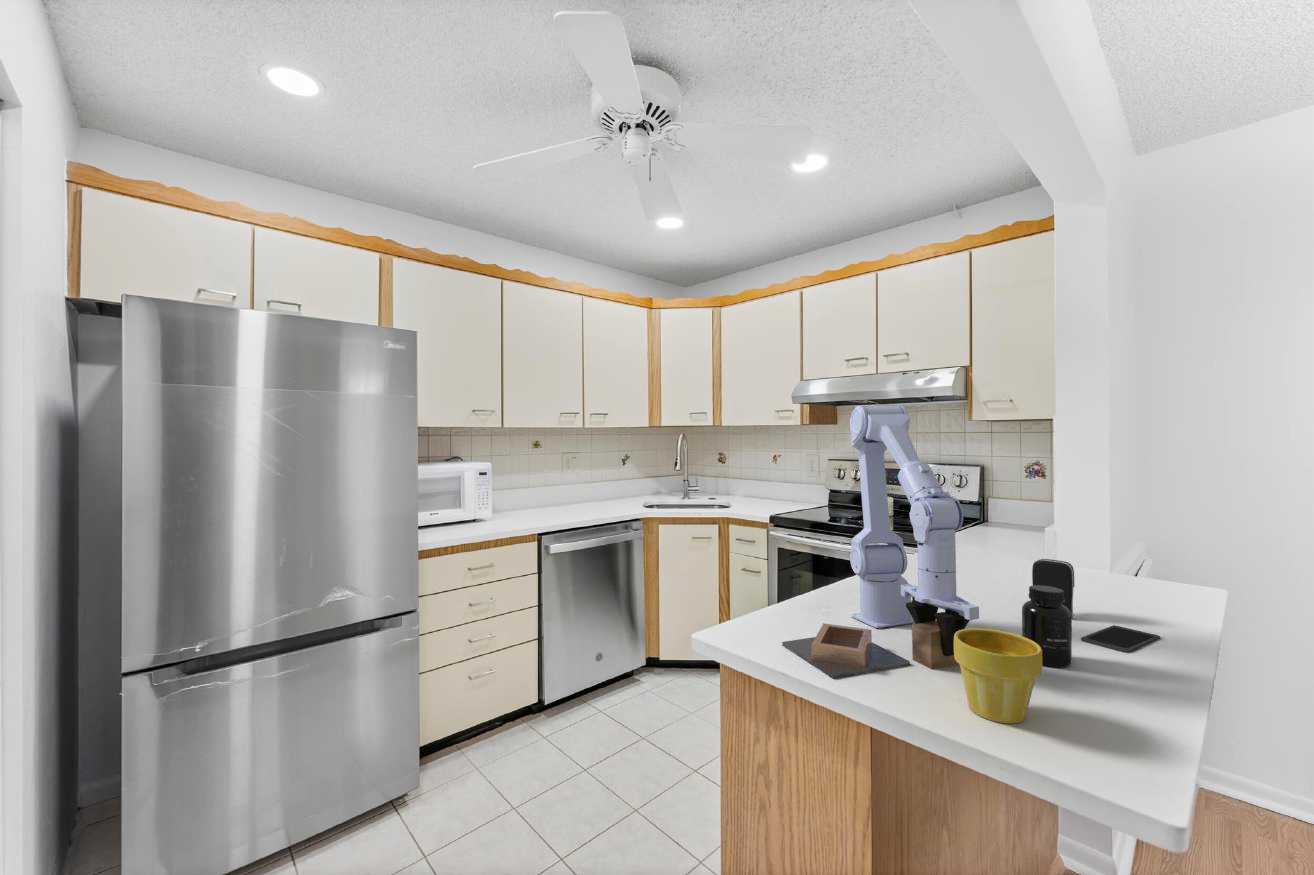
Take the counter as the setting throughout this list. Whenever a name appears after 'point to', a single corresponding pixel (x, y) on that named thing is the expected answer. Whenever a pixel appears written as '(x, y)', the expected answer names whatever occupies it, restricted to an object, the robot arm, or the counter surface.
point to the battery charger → (1055, 577)
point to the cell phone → (1120, 639)
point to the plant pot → (997, 672)
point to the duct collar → (844, 651)
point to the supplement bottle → (1048, 624)
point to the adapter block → (929, 646)
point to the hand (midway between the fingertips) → (938, 649)
